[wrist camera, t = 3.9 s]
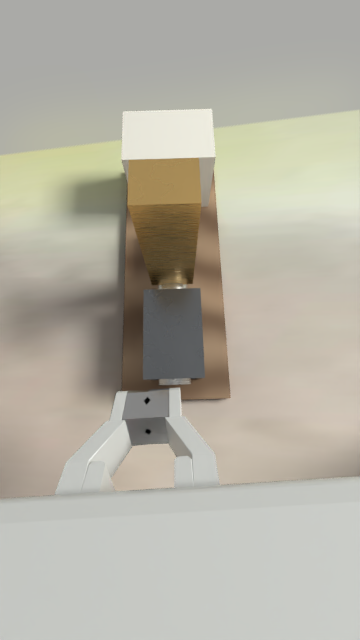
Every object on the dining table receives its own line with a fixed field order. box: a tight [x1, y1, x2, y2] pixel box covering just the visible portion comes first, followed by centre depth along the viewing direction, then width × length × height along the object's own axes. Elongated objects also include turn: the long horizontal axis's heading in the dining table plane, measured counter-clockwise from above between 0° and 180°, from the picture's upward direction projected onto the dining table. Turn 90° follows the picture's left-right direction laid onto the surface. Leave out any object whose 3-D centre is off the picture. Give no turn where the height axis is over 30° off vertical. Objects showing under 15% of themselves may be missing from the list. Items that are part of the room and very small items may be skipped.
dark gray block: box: [143, 288, 205, 380], centre depth 25 cm, size 8×5×5 cm, turn 2°
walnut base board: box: [122, 171, 230, 400], centre depth 30 cm, size 29×11×1 cm, turn 2°
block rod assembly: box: [127, 158, 202, 385], centre depth 20 cm, size 18×4×14 cm, turn 2°
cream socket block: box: [121, 109, 215, 207], centre depth 28 cm, size 6×9×7 cm, turn 92°
